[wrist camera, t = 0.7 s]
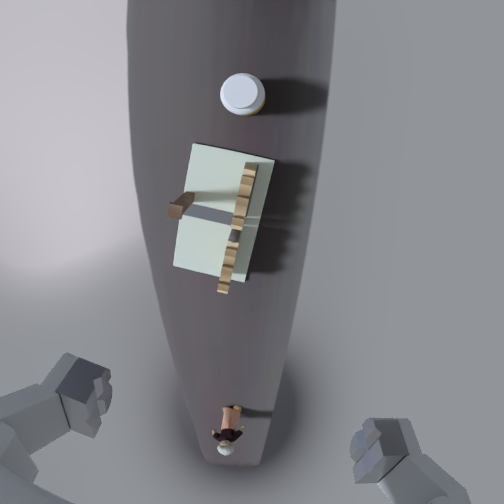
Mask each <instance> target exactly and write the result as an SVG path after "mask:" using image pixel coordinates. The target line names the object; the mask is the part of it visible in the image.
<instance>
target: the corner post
mask: <svg viewBox="0 0 504 504" xmlns="http://www.w3.org/2000/svg"><path fill="white" fill-rule="evenodd" d="M194 196H195V193H192V192H187V191H186V192H185V193H184V194H183V195H181V196H180V197H179V198H178V199H177V200H176V201H175V202H174V203H172V202H170V203H169V209H168V216H167V217H171V218H175V219H180V220H181V219H182V215H183V213H184V212H185V211H186V210H187V209H188V208H189V207H190V205H191V204H192V203H193V202H194Z"/></svg>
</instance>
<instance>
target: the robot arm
mask: <svg viewBox="0 0 504 504" xmlns="http://www.w3.org/2000/svg"><path fill="white" fill-rule="evenodd" d="M110 378H111V374H110V370H109V369H107V368H105V367H102V366H100V365H97V364H94V363H92V362H90V361H87V360H84V359H82V358H80V357H77V356H74V355H72V354H70V353H65V354H63V355H62V356H61V358H60V359H59V360H58V362H57V363H56V364H55V366H54V367H53V368H52V370H51V371H50V372H49V374H48V375H47V376H46V378H45V379H44V381H43V382H42V383H41V385H39V384H37V383H36V384H34V385H31V386H29V387H26V388H24V389H21V390H18V391H16V392H13V393H10V394H8V395H5V396H2V397H0V504H74V503H71V502H69V501H67V500H65V499H63V498H61V497H59V496H57V495H55V494H53V493H51V492H49V491H47V490H45V489H43V488H41V487H39V486H37V485H36V484H34V483H33V482H34V479H35V477H36V475H37V473H38V468H37V466H36V465H35V463H34V462H33V460H32V459H31V457H30V455H31V454H32V453H34V452H36V451H37V450H39V449H41V448H42V447H44V446H46V445H47V444H49V443H51V442H52V441H54V440H56V439H57V438H59V437H61V436H62V435H64V434H65V433H67V432H69V431H70V429H71V430H74V431H76V432H78V433H81V434H84V435H86V436H89V437H91V438H95V436H96V434H97V431H98V429H99V427H100V425H101V418H100V416H101V415H103V414H105V413H107V411H108V408H109V406H110V402H111V399H112V386H111V385H110V384H109V380H110ZM362 426H363V429H362V430H360V431H358V432H356V433H355V435H354V436H353V438H352V440H351V444H350V455H351V458H352V459H353V460H354V461H355V462H356V463H355V465H354V467H353V471H354V477H355V482H356V483H377V485H378V486H379V487H380V488H381V490H382V491H383V492H384V494H385V495H386V496H387V497H388V499H389V500H390V501H391V502H392V504H471V502H470V499H469V497H468V494H467V491H466V489H465V488H464V487H463V486H462V485H461V484H459V483H458V482H457V481H456V480H455V479H454V478H452V477H451V476H450V475H449V474H448V473H447V472H446V471H444V470H443V469H442V468H441V467H440V466H438V465H437V464H436V463H435V462H434V461H433V460H432V459H431V458H430V457H428V456H427V455H426V454H422V452H421V449H420V446H419V444H418V441H417V438H416V436H415V433H414V430H413V428H412V425H411V422H410V421H409V420H408V419H397V418H396V419H394V418H369V419H367V420H365V422H364V423H363V425H362Z"/></svg>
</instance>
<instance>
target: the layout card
mask: <svg viewBox="0 0 504 504" xmlns="http://www.w3.org/2000/svg"><path fill="white" fill-rule="evenodd" d="M247 162H249V163H253V164H257V169H256V173H255V177H254V181H253V186H252V190H251V194H250V198H249V203H248V207H247V211H246V215H245V220H244V224H243V228H242V233H241V237H240V241H239V246H238V250H237V254H236V259H235V263H234V267H233V272H232V276H231V279H232V280H236V281H240V282H245V278H246V274H247V270H248V266H249V262H250V258H251V254H252V250H253V246H254V242H255V238H256V234H257V230H258V226H259V222H260V218H261V214H262V210H263V206H264V202H265V198H266V194H267V190H268V186H269V182H270V178H271V174H272V170H273V166H274V162H275V160H271V159H267V158H263V157H259V156H254V155H250V154H245V153H241V152H236V151H232V150H227V149H222V148H217V147H212V146H207V145H202V144H197V143H193V146H192V151H191V156H190V161H189V167H188V172H187V178H186V183H185V189H184V193H185V192H186V191H187V192H192V193H195V196H194V202H193V203H192V204H191V205H190V207H189V208H188V209H187V210H186V211H185V212H184V213H183V215H182V219H181V220H179V227H178V233H177V240H176V247H175V255H174V262H173V266H177V267H181V268H185V269H189V270H193V271H198V272H202V273H206V274H210V275H214V276H219V277H220V275H221V269H222V265H223V261H224V256H225V250H226V246H227V242H228V238H229V236H230V233H231V230H232V228H231V222H232V218H233V214H234V210H235V205H236V200H237V196H238V192H239V187H240V182H241V177H242V174H243V170H244V167H245V165H246V164H247Z"/></svg>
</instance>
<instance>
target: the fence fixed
mask: <svg viewBox="0 0 504 504" xmlns="http://www.w3.org/2000/svg"><path fill="white" fill-rule="evenodd" d="M256 169H257V164H253V163H249V162H247V164H246V165H245V167H244V170H243V174H242V177H241V182H240V187H239V192H238V196H237V200H236V205H235V210H234V214H233V218H232V222H231V228H232V231H231V234H230V237H229V240H230V241H231V242H232V243H236V242H237V241H238V239H239V235H240V232H241V231H242V228H243V224H244V220H245V215H246V211H247V207H248V203H249V198H250V194H251V190H252V186H253V181H254V177H255V173H256Z"/></svg>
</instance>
